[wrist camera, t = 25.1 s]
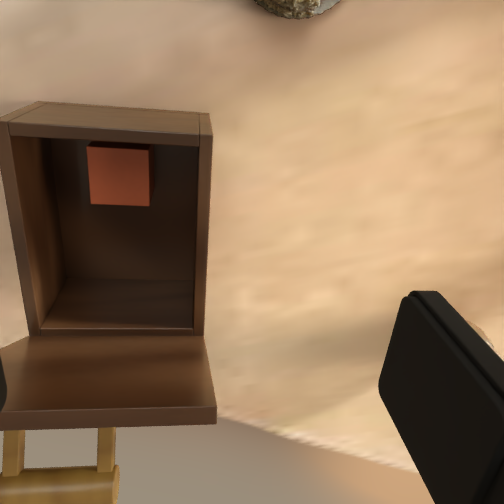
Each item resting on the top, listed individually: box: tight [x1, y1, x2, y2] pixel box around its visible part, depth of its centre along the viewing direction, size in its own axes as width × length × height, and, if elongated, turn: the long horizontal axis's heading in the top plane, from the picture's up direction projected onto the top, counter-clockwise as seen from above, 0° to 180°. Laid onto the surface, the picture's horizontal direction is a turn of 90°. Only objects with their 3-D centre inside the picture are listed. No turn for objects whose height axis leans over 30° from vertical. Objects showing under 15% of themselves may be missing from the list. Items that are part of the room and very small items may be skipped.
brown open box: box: [0, 101, 213, 336], centre depth 36 cm, size 17×14×9 cm
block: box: [86, 141, 154, 206], centre depth 35 cm, size 4×4×4 cm
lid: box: [0, 336, 217, 504], centre depth 26 cm, size 18×14×5 cm
